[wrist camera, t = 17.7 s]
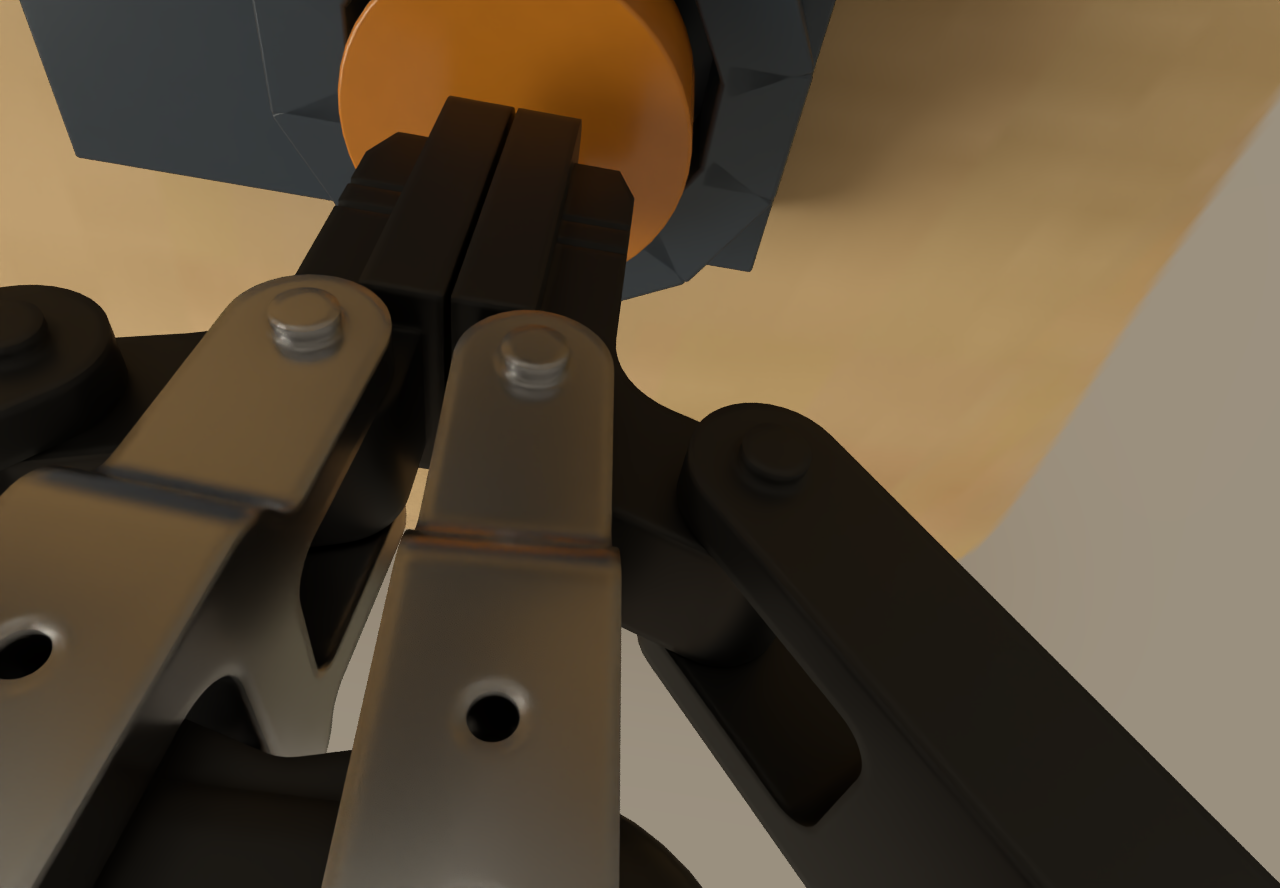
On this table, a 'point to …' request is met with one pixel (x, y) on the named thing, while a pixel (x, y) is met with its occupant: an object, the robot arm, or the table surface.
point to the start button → (535, 81)
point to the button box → (310, 123)
